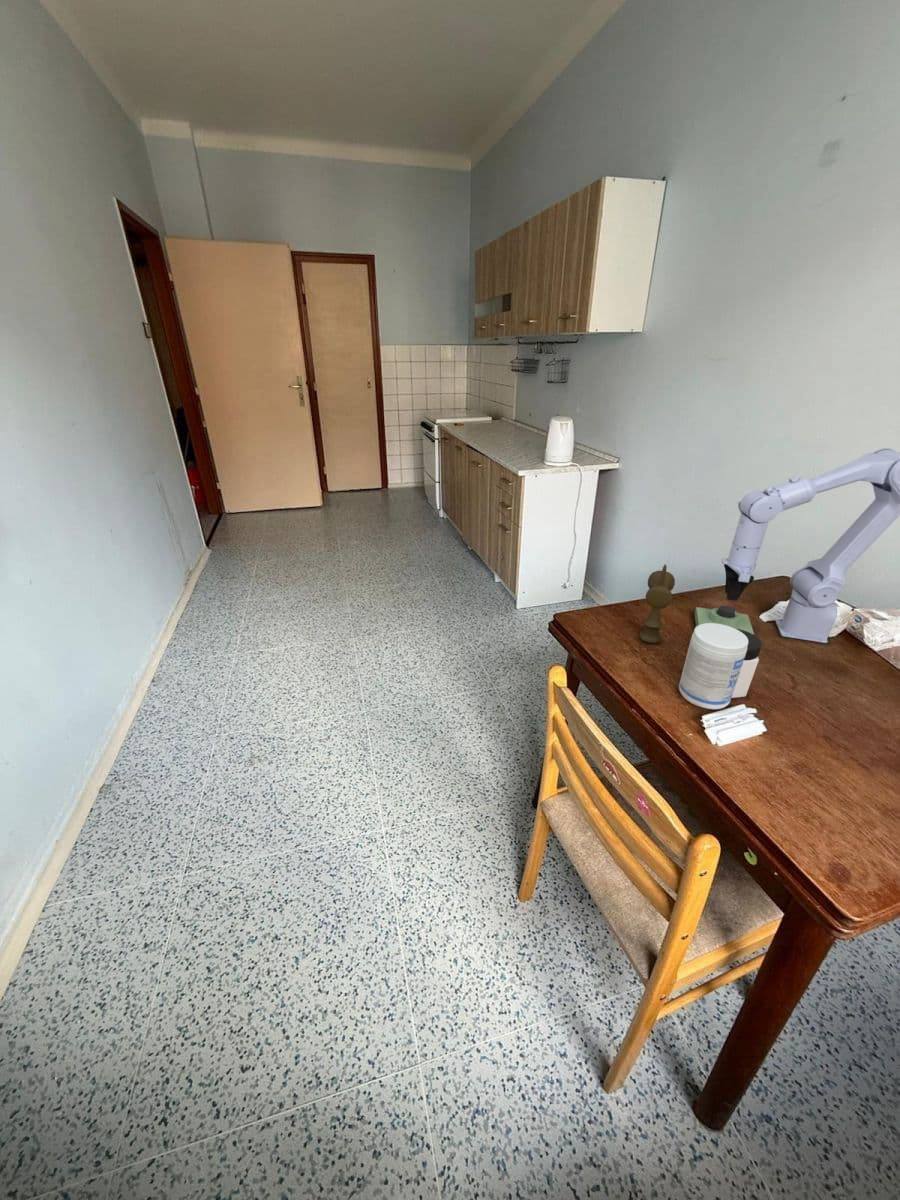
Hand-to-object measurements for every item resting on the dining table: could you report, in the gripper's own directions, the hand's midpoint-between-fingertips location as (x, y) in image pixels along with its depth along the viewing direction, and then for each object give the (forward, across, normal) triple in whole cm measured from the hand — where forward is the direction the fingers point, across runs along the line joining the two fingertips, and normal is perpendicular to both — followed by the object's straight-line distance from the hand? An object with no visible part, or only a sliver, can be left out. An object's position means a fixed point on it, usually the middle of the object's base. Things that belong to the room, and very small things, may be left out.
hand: (730, 596), depth 115 cm
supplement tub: (+9, +31, -6) cm, 33 cm away
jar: (+9, +26, -2) cm, 28 cm away
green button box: (+9, 0, 0) cm, 9 cm away
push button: (+5, 0, 0) cm, 5 cm away
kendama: (+9, +12, -17) cm, 23 cm away
